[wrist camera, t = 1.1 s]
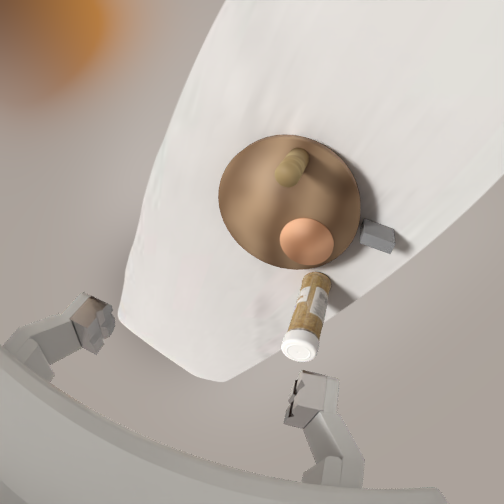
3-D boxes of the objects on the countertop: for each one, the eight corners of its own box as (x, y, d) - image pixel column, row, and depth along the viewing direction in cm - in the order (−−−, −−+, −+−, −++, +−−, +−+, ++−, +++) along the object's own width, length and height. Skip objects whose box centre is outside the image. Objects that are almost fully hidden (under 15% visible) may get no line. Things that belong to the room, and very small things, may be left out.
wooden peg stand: (380, 161, 31) (385, 186, 24) (335, 276, 42) (327, 316, 36) (233, 120, 34) (202, 134, 27) (219, 238, 45) (194, 270, 39)
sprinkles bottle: (300, 271, 45) (276, 340, 34) (329, 269, 43) (313, 341, 32) (305, 294, 47) (284, 362, 37) (333, 293, 45) (319, 364, 35)
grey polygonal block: (393, 229, 36) (395, 243, 33) (388, 238, 37) (390, 254, 34) (364, 218, 36) (364, 232, 34) (360, 228, 37) (359, 243, 35)
